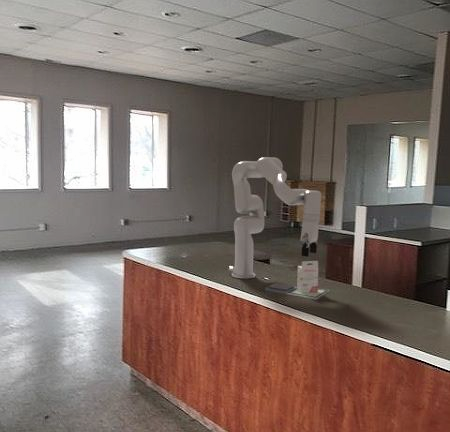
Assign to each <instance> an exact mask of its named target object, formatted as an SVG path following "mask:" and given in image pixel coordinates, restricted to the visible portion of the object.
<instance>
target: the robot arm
mask: <svg viewBox="0 0 450 432" xmlns="http://www.w3.org/2000/svg"><path fill="white" fill-rule="evenodd" d="M283 168H284V167H283V162H282V161H281V159H279V158H278V157H275V156H274V157H271V156H270V157H269V156H268V157H267V156H266V157H265V156H264V157H261V158H259V159H258V160H256V161H253V160H252V161H251V160H250V161H249V160H243V161H240V162H237V163H236V164H235V165H234V166H233V169H232V171H231V179H232V184H233V191H234V192H233V194H234V206H235V210H236V212H237V213H238V214H249V215H244V216H243V215H241V216H239V217H237V218H236V219H235V220H234V222H233V232H234V240H235V241H234V242H235V244H234V266H231V265H230V266H229V267H228V271H232V273H231V277H232V278H235V279H245V280H246V279H248V280H249V279H253V278H255V277H256V275H257V274H256V273H255V272H254V239H253V236H252V235H253V234H259V233H261V232H263V230H264V228H265V211H264V202H263V200H262V198H261V197H260V196H259V195H257V194H252V191H251V185H250V182H249V181H248V179H250V178H251V179H255V178H256V179H260V178H261V179H262V178H265V179H266V180H267V181H268V182H269V183H270V184H271V185H272V186H273V191H274V193H275V195H276V197H278V198H279V200H280V201H282V202H283V203H284V204H286V205H288V206H302V205H303V212H302V221H303V222H302V226H301V233H300V242H301V256H302V257H309V253H311V254H317V252H318V251H317V248H318V240H319V239H318V238H319V222H321V221H320V219H321V217H320V216H321V205H322V204H321V203H322V193H321V191H320V190H311V189H310V190H309V189H307V188H291V187H290V186H289V185H288V184H286V180H287V176H288V175H287V173H286V171H285V170H283Z"/></svg>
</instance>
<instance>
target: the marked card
mask: <svg viewBox="0 0 450 432" xmlns="http://www.w3.org/2000/svg"><path fill="white" fill-rule="evenodd" d="M328 292H330V290H329V289H325V288H323V289H322V288H318V292H309V293H301V292H299V291H297V287H296V289H294V290H292V291H290V292H288V293H287V294H286V295H289V296H294V297H300V298H306V299H311V300H318V299H319V298H321V297H322V296H324V295H325V294H327V293H328Z"/></svg>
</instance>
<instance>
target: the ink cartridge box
mask: <svg viewBox="0 0 450 432" xmlns="http://www.w3.org/2000/svg"><path fill="white" fill-rule="evenodd" d="M296 277H297V278H296V279H297V282H296V283H297V284H296V288H297V291H299V292H301V293H309V292H318V289H319V288H318V287H319V261H318V260H308V261H307V260H306V261H301V265H297V276H296Z"/></svg>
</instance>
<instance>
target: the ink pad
mask: <svg viewBox="0 0 450 432" xmlns="http://www.w3.org/2000/svg"><path fill="white" fill-rule="evenodd" d="M296 288H297V286H293V285H288V284H285V283H283V284H282V283H276V282H274V283H273V284H271V285H268V286H266V287H265V291H267V292H271V293H277V294H282V295H283V294H284V295H287V293H288V292H290V291H292V290H294V289H296Z"/></svg>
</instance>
